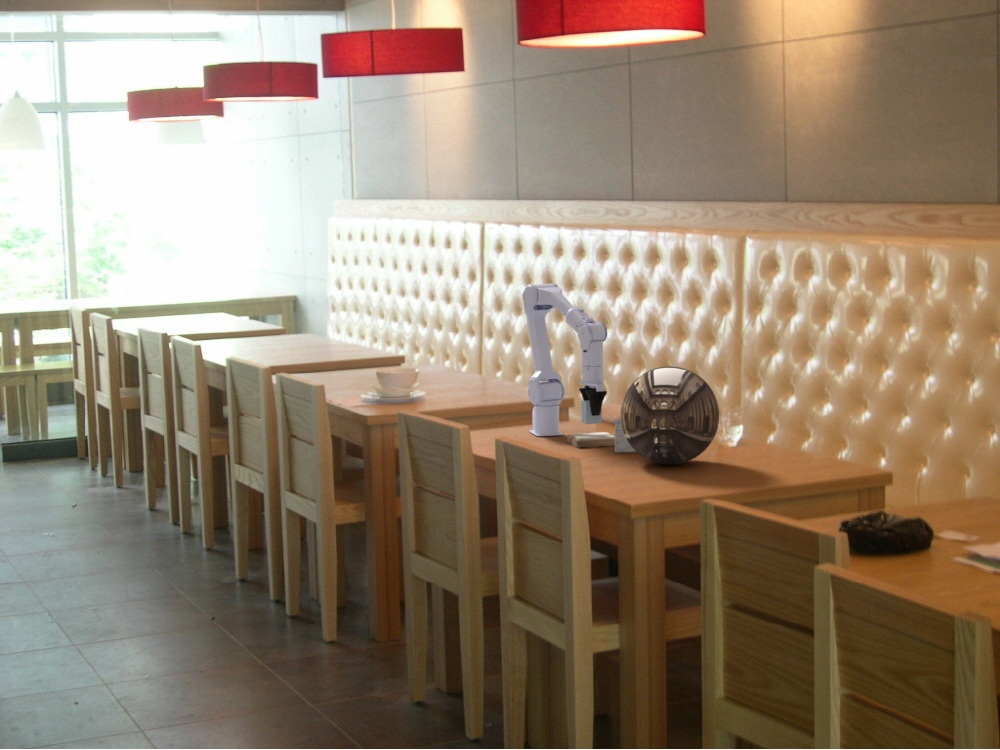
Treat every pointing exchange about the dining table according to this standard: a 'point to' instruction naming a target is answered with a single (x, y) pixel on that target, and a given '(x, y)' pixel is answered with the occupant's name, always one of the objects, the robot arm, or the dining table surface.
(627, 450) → the medicine box
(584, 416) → the block
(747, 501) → the dining table surface
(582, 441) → the brown picture frame
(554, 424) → the robot arm
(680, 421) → the sphere
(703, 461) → the dining table surface
